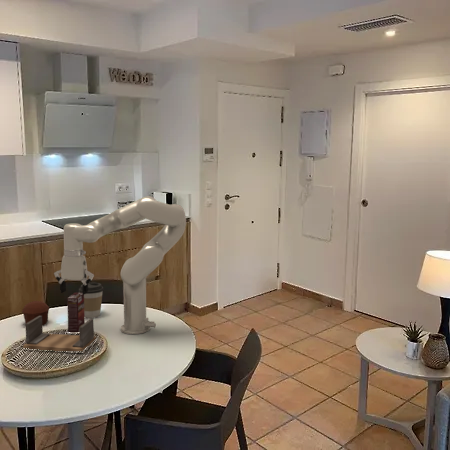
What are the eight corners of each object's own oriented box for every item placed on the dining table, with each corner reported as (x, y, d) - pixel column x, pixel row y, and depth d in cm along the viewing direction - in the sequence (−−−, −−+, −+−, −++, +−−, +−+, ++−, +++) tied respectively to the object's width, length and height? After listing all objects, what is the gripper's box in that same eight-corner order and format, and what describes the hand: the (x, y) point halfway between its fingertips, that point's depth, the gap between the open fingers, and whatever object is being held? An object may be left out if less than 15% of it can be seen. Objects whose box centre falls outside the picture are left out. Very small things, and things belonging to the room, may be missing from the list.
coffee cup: (109, 314, 224) (108, 284, 222) (91, 321, 215) (90, 289, 213) (92, 310, 230) (92, 280, 228) (74, 317, 221) (73, 285, 219)
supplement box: (79, 335, 198) (77, 298, 196) (67, 334, 198) (66, 298, 196) (85, 327, 207) (84, 292, 205) (74, 327, 207) (73, 292, 205)
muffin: (55, 321, 214) (54, 300, 213) (36, 329, 204) (35, 307, 203) (36, 318, 219) (35, 297, 218) (16, 325, 209) (15, 303, 208)
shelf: (96, 341, 191) (95, 317, 190) (82, 354, 179) (81, 328, 177) (41, 337, 195) (40, 314, 194) (23, 350, 182) (22, 325, 181)
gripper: (96, 252, 200) (97, 291, 203) (58, 250, 203) (59, 289, 205) (89, 256, 193) (89, 296, 195) (49, 253, 195) (50, 293, 198)
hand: (74, 292), depth 200 cm, fingers open, 9 cm apart
